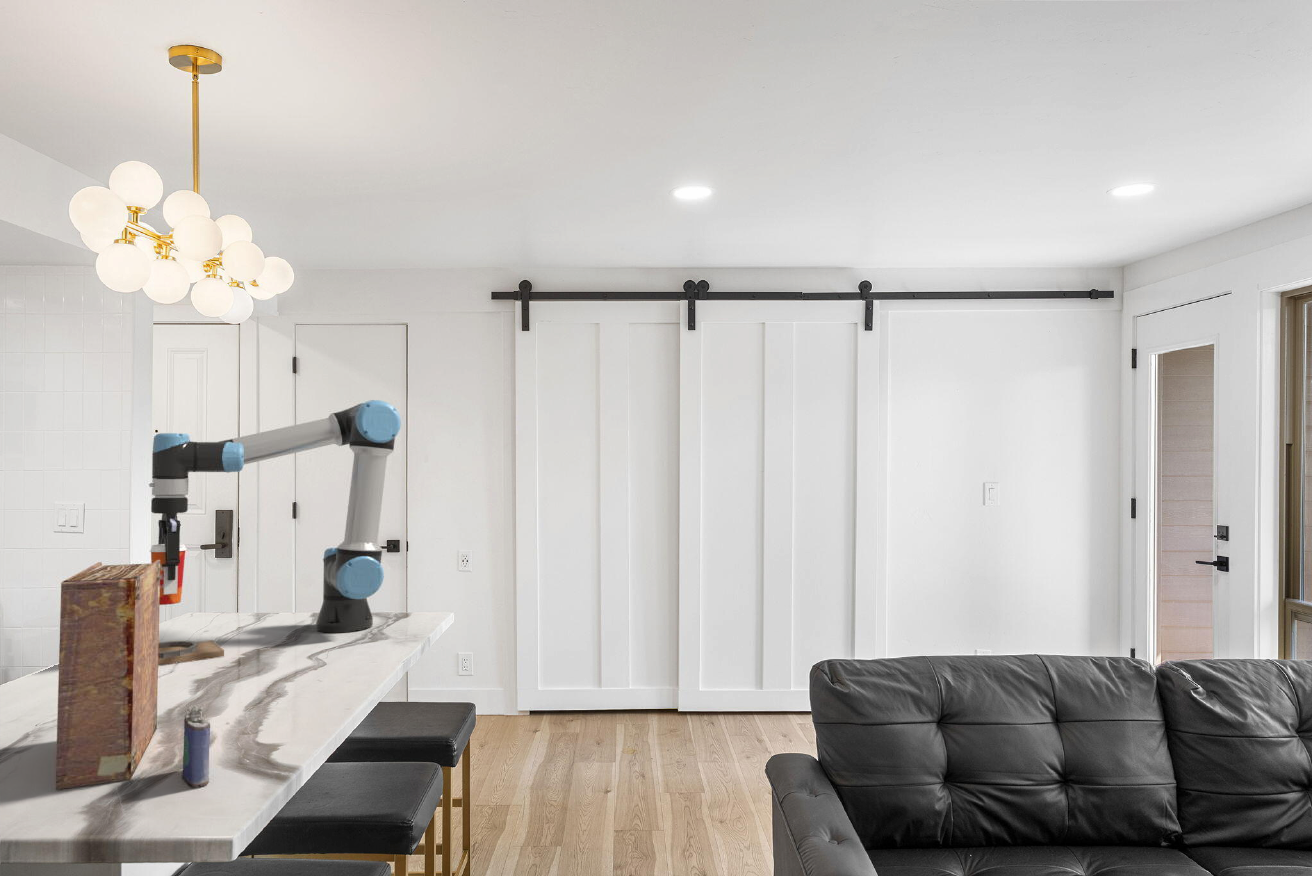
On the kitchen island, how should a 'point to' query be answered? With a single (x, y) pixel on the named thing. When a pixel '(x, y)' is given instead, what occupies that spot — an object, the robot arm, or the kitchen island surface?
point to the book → (107, 672)
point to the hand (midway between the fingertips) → (167, 591)
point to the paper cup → (159, 554)
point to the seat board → (187, 651)
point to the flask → (196, 748)
